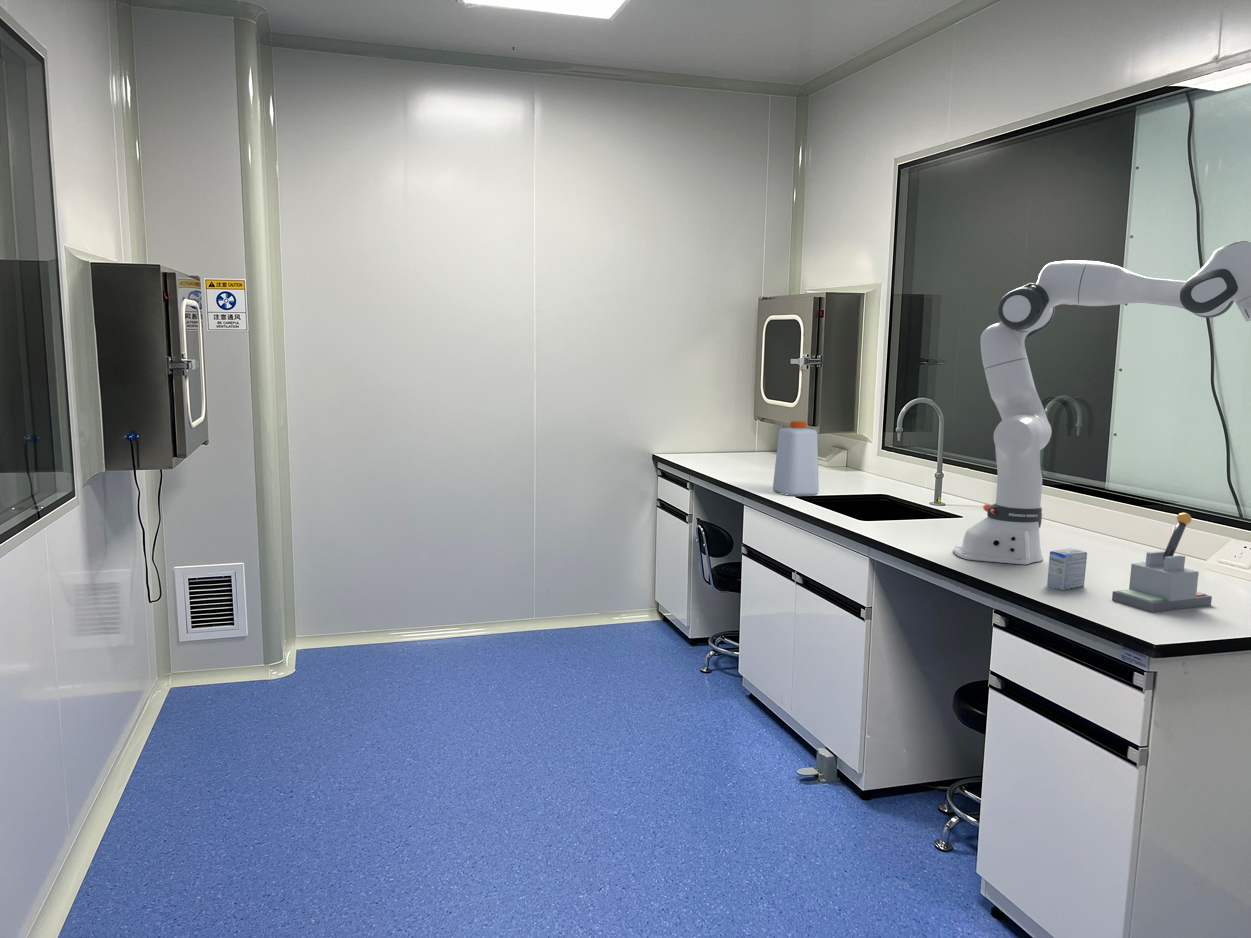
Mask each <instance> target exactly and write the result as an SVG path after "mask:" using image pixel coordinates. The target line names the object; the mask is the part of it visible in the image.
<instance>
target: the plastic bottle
mask: <svg viewBox="0 0 1251 938" xmlns="http://www.w3.org/2000/svg"><path fill="white" fill-rule="evenodd" d="M789 423H790V426H789V427H782V428H780V429H779V431H778V438H777V447H776V458H775V466H774V474H773V475H774V476H773V481H772V483H773V484H772V490H773V492H775V491H777V492H780V493H783V494H788V495H809V496H817V494H819V491H820V490H819V488H820V486H819V456H818V455H819V452H818V444H819V443H818V432H817V431H818V430H816V429H813V428H807V422H806V421H804V420H802V421H801V420H792V421H790V422H789ZM777 492H776V493H777ZM780 493H779V494H780ZM783 494H782V495H783Z"/></svg>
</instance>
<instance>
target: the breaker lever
mask: <svg viewBox="0 0 1251 938" xmlns="http://www.w3.org/2000/svg"><path fill="white" fill-rule="evenodd" d="M1176 522H1177V523H1176V525H1175V527H1174V529H1173V530H1172V531H1173V532H1172V534H1171V536H1170V538H1169V541H1168V543H1167V546H1166V548H1165V550H1164V551H1165V552H1164V555H1163V559H1164V560H1165V557H1169V556H1175V553H1176V550H1177V548H1178V546H1179V544H1180V541H1181V539H1182V537H1183V534H1184V533H1185V530H1186V527H1187V525H1189V524H1190V523H1192V516H1191V515H1190V514H1189V513H1188V512H1180V513H1178V514H1177V516H1176Z"/></svg>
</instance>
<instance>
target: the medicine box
mask: <svg viewBox="0 0 1251 938" xmlns="http://www.w3.org/2000/svg"><path fill="white" fill-rule="evenodd" d="M1048 558H1049V559H1048V571H1047V582H1046V585H1047V587H1049V586H1050V587H1049V588H1052V587H1054V588H1053V589H1055V588H1058V589H1057V590H1059V589H1061V590H1060V591H1065V590H1066V589H1067V590H1072V589H1076V587H1077V588H1081V587H1080V586H1083V587H1085V580H1086V577H1085V576H1086V570H1087V569H1086V568H1087V559H1088V552H1087V551H1084V550H1081V549H1076V548H1072V547H1069V548H1063V549H1062V548H1061V549H1057V550H1051V551H1049V556H1048ZM1071 588H1072V589H1071Z"/></svg>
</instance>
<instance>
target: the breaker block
mask: <svg viewBox="0 0 1251 938" xmlns="http://www.w3.org/2000/svg"><path fill="white" fill-rule="evenodd" d="M1164 552H1165V550H1159V551H1150V552H1146V557H1145V562H1137V563H1134V562H1133V563H1131V565H1130V574H1129V575H1130V577H1129V586H1128V589H1122V590H1113V591H1112V597H1111V600H1112V601H1114V600H1115V601H1114V602H1117V601H1118V602H1117V603H1120V602H1121V603H1120V604H1123V605H1124V604H1125V605H1127V604H1128V605H1127V606H1130V605H1131V607H1133V606H1134V608H1136V607H1138V609H1140V608H1141V609H1140V610H1143V609H1144V611H1146V610H1147V611H1146V612H1149V611H1150V613H1157V612H1158V613H1159V612H1168V611H1173V610H1174V611H1175V610H1183V609H1190V608H1191V607H1192V608H1198V607H1199V606H1200V607H1206V606H1207V605H1208V606H1212V600H1213V599H1212V598H1213V597H1212V595H1209V594H1207V593H1204V592H1200V591H1198V584H1199V583H1198V582H1199V574H1200V573H1199V571H1198V570H1194V569H1190V568H1185V563H1186V556H1185V555H1182V554H1181V555H1173V556H1169V557H1165V560H1164V559H1163V555H1164ZM1192 608H1191V609H1192Z"/></svg>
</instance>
